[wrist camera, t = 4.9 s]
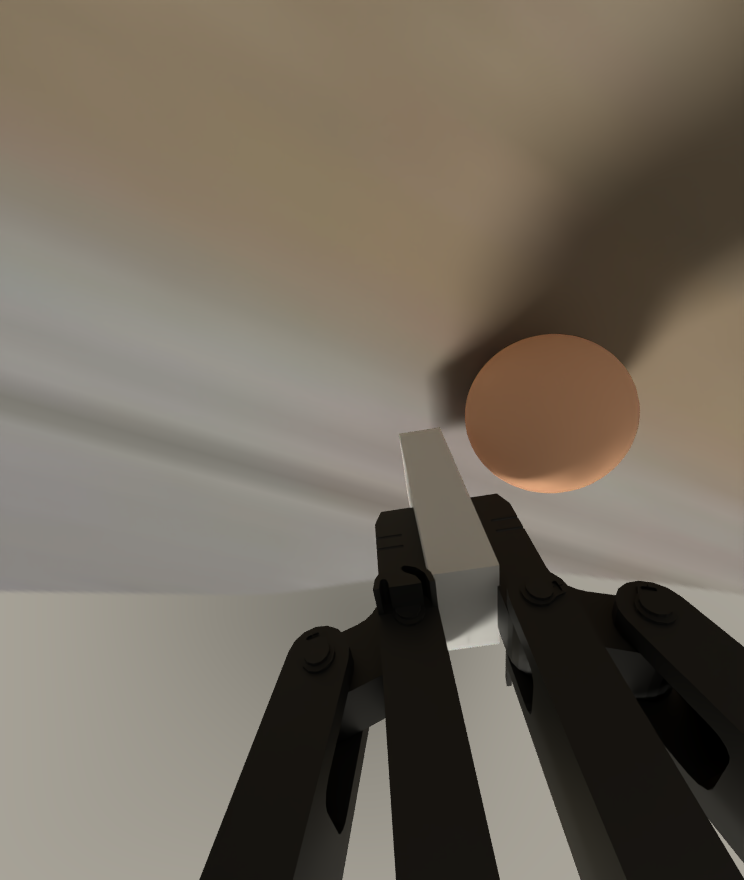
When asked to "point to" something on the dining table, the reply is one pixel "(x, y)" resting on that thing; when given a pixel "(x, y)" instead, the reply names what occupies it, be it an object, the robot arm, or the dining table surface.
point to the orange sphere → (552, 413)
